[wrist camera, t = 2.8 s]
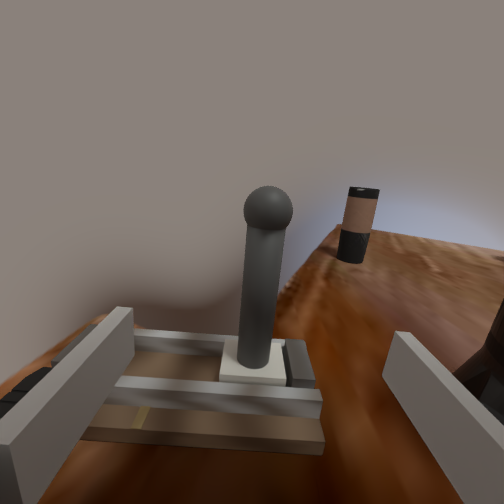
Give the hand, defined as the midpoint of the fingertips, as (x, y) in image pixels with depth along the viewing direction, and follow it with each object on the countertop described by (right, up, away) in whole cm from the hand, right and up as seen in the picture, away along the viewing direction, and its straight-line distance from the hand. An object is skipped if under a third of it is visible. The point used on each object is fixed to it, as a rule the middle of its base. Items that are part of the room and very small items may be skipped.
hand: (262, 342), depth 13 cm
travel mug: (+27, +2, +61) cm, 67 cm away
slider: (-1, -8, +13) cm, 15 cm away
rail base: (-7, -9, +13) cm, 18 cm away
